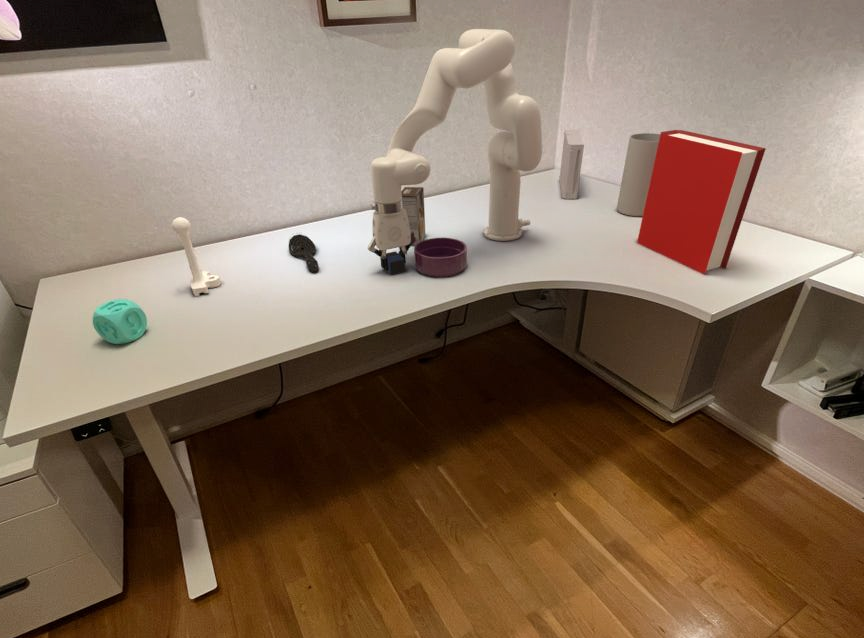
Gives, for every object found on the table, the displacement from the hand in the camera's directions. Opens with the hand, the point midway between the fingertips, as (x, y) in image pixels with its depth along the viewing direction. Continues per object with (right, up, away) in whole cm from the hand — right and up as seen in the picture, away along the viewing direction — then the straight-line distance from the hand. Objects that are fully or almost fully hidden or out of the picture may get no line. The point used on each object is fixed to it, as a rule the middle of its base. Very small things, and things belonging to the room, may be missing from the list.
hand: (393, 267), depth 147 cm
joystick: (-53, -7, -5) cm, 53 cm away
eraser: (0, 0, 0) cm, 1 cm away
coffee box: (+5, +12, +18) cm, 23 cm away
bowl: (+14, 0, +1) cm, 14 cm away
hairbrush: (-28, +4, +9) cm, 30 cm away
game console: (+67, +43, +58) cm, 99 cm away
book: (+85, +4, +3) cm, 85 cm away
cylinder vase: (+85, +26, +34) cm, 95 cm away
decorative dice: (-63, -22, -26) cm, 71 cm away
